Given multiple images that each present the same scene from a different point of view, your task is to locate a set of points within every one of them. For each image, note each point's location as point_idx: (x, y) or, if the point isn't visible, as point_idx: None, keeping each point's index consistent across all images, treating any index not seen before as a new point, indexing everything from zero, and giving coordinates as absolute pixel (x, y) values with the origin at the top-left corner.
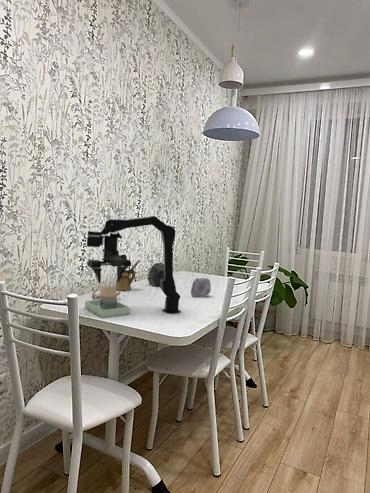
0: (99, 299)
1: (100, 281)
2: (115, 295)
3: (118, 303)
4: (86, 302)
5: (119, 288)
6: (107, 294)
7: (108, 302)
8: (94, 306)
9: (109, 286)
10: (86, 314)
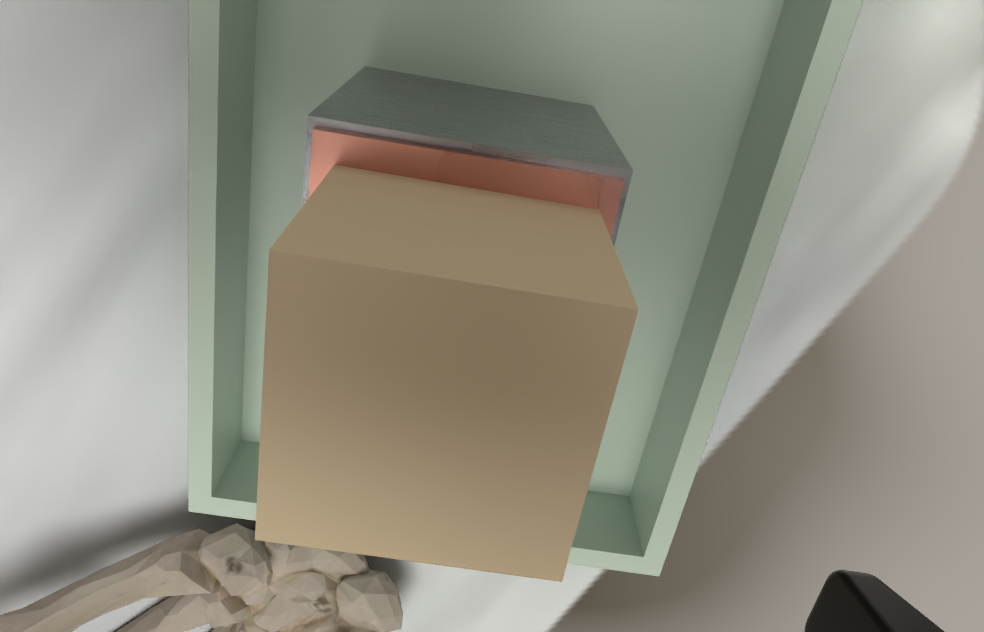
0: (328, 620)
1: (872, 613)
2: (29, 614)
3: (221, 206)
4: (672, 526)
5: None
6: (569, 226)
7: (544, 133)
8: (779, 232)
9: (349, 502)
10: (867, 215)
